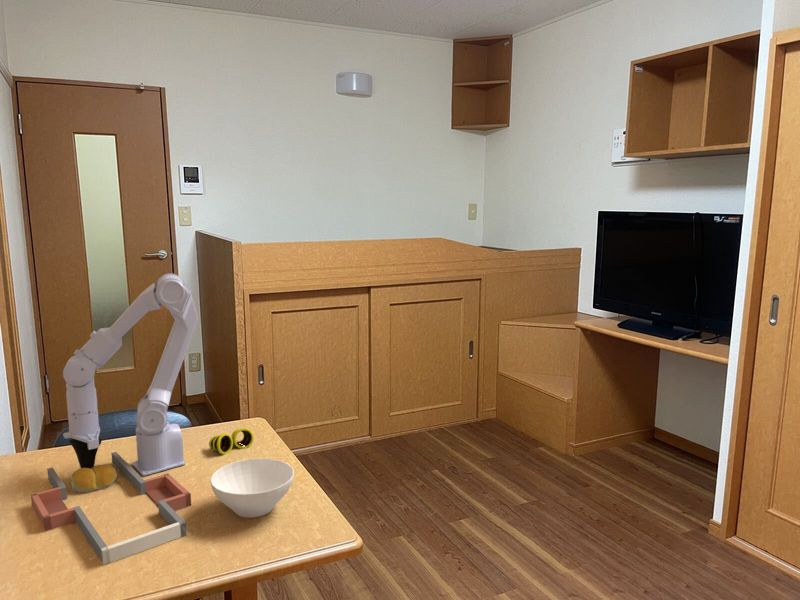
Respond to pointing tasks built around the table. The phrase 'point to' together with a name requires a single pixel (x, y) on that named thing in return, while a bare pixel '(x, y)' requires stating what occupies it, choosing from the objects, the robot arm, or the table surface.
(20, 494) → the table surface
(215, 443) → the opera glasses
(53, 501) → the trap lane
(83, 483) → the bread roll
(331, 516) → the table surface
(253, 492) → the bowl
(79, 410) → the robot arm
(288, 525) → the table surface
